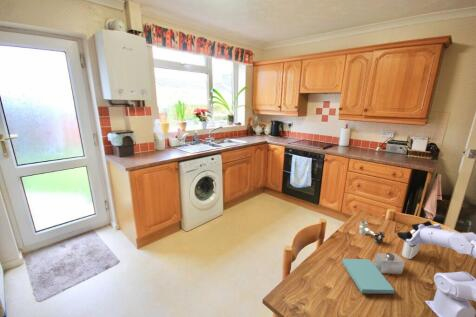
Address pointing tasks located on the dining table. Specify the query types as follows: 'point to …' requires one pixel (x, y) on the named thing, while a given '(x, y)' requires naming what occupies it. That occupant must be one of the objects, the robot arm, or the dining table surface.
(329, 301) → the dining table surface
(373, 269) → the teal flat slab
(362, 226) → the valve
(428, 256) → the dining table surface
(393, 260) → the housing
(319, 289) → the dining table surface
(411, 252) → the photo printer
